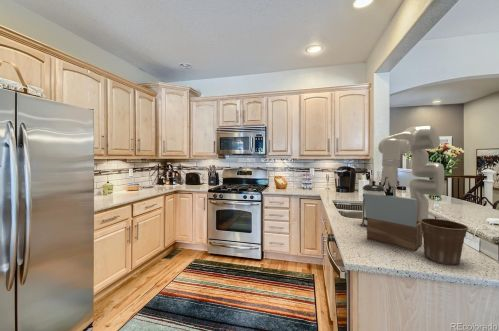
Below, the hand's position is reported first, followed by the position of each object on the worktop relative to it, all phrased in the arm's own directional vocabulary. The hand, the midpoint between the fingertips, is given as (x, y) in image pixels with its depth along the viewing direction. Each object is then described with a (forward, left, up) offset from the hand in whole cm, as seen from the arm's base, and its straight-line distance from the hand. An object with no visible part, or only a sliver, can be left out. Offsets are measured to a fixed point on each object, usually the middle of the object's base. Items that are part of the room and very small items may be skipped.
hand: (389, 199), depth 116 cm
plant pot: (-1, +21, -24) cm, 32 cm away
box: (-9, 0, -23) cm, 25 cm away
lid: (0, 0, -4) cm, 4 cm away
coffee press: (-29, -18, -24) cm, 41 cm away
